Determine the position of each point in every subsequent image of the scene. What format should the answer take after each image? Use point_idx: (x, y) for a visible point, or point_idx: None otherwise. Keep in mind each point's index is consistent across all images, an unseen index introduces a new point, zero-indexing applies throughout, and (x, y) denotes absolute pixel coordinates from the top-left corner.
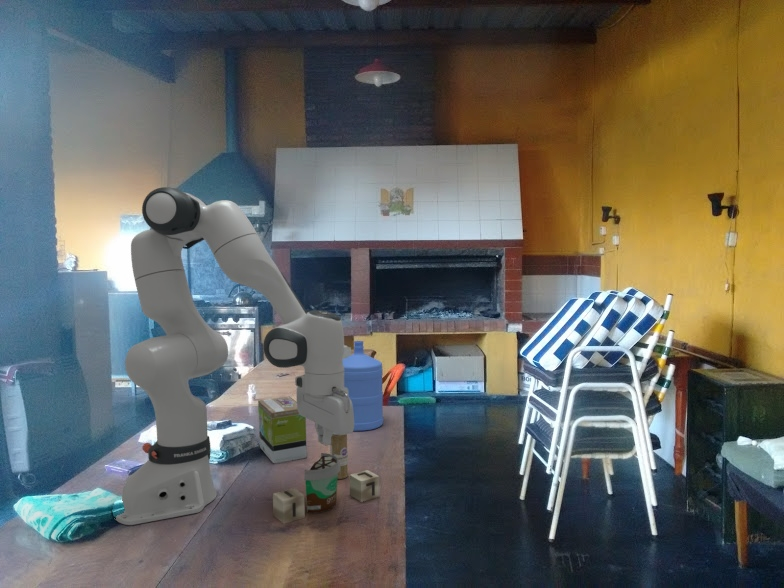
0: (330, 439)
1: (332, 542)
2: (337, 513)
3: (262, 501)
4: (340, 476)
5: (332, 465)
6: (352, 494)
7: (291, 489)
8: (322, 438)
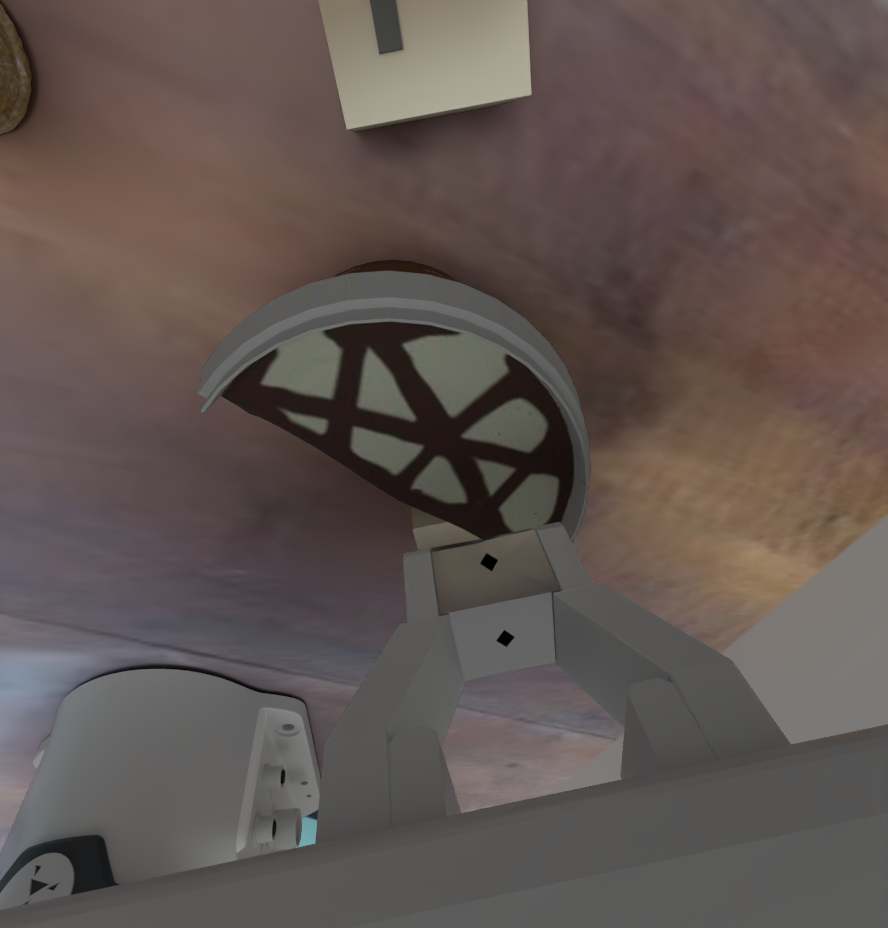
0: (578, 564)
1: (758, 410)
2: (551, 305)
3: (274, 551)
4: (17, 68)
5: (485, 380)
6: (388, 125)
7: (428, 540)
8: (545, 652)
